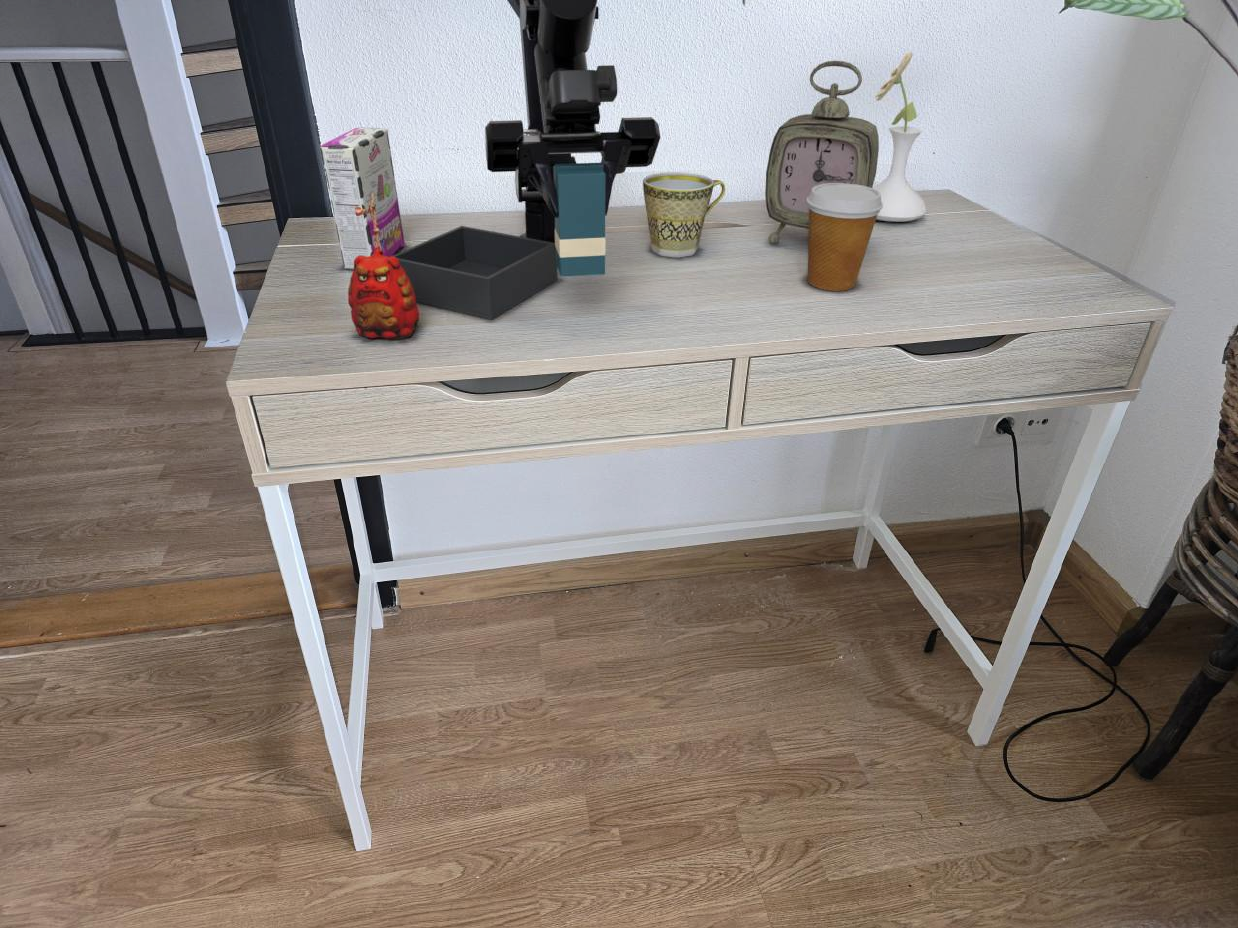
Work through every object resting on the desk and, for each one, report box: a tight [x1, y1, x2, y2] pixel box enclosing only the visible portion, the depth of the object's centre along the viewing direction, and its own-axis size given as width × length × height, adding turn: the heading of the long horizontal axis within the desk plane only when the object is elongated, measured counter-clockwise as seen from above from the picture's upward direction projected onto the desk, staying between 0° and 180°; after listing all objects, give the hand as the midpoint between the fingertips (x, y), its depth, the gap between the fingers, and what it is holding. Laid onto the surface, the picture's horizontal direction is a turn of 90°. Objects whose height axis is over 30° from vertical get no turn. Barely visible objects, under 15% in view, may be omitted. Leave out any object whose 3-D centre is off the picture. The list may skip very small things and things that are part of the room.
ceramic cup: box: [642, 171, 726, 259], centre depth 117 cm, size 13×10×10 cm
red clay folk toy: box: [347, 193, 420, 341], centre depth 90 cm, size 8×7×15 cm
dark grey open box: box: [391, 225, 558, 321], centre depth 104 cm, size 15×15×5 cm
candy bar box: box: [319, 126, 406, 271], centre depth 111 cm, size 11×5×16 cm, turn 172°
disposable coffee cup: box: [806, 183, 883, 292], centre depth 106 cm, size 10×10×12 cm
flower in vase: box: [872, 51, 928, 223], centre depth 128 cm, size 13×11×25 cm
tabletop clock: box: [764, 60, 880, 245], centre depth 116 cm, size 14×9×25 cm, turn 68°
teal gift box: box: [553, 162, 607, 278], centre depth 89 cm, size 4×5×12 cm
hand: (581, 215), depth 87 cm, fingers closed on teal gift box, 5 cm apart
